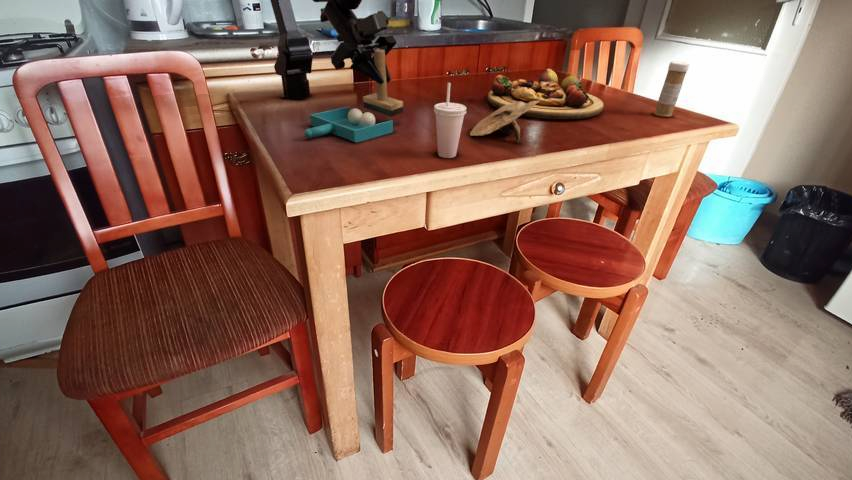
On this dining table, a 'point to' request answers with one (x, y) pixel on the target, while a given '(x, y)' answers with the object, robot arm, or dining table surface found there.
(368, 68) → the robot arm
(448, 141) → the smoothie
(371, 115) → the cream oval piece
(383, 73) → the brush
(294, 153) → the dining table surface
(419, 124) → the dining table surface
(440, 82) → the dining table surface
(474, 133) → the tan wooden pointed piece
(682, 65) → the sprinkles bottle
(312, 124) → the dustpan
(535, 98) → the wooden plate
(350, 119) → the beige rounded piece
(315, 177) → the dining table surface
